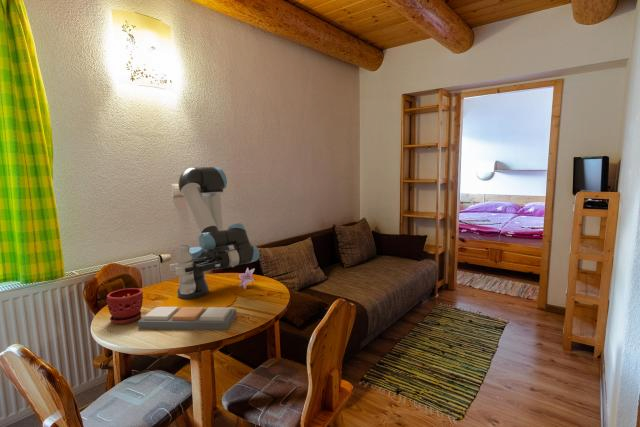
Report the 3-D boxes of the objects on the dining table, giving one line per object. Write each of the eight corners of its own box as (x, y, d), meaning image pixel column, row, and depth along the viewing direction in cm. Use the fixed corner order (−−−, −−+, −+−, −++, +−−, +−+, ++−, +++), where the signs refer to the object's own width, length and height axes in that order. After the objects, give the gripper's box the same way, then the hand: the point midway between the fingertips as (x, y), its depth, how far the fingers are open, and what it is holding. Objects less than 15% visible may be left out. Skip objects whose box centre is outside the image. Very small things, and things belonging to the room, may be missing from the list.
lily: (239, 284, 188) (232, 272, 183) (258, 274, 190) (252, 262, 185) (243, 297, 178) (236, 285, 173) (263, 287, 180) (257, 274, 175)
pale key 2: (209, 311, 143) (208, 307, 142) (230, 311, 142) (230, 307, 142) (200, 321, 133) (200, 316, 133) (223, 321, 133) (223, 317, 133)
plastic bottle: (199, 291, 139) (196, 244, 136) (188, 297, 133) (185, 248, 130) (187, 289, 141) (183, 243, 138) (175, 295, 135) (171, 247, 132)
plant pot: (140, 323, 137) (138, 296, 136) (104, 328, 134) (101, 299, 132) (147, 311, 150) (145, 285, 148) (114, 314, 146) (112, 288, 145)
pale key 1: (157, 311, 144) (156, 306, 143) (178, 311, 143) (178, 306, 143) (144, 320, 134) (144, 316, 134) (167, 321, 134) (167, 316, 134)
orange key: (183, 311, 143) (182, 306, 143) (204, 311, 143) (204, 307, 142) (172, 321, 134) (172, 316, 133) (195, 321, 133) (195, 316, 133)
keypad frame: (155, 314, 146) (155, 308, 145) (236, 315, 144) (236, 309, 144) (138, 328, 133) (137, 321, 132) (226, 329, 131) (226, 322, 131)
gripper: (237, 271, 141) (182, 284, 125) (217, 263, 155) (165, 273, 139) (236, 254, 140) (181, 265, 125) (216, 247, 154) (164, 256, 138)
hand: (173, 269), depth 132 cm, fingers closed on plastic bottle, 6 cm apart
